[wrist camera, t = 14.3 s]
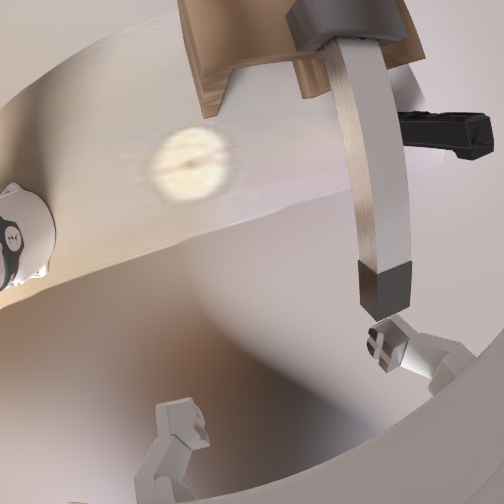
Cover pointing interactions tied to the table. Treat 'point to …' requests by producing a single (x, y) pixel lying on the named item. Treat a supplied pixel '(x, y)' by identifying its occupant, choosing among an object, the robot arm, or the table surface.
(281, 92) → the table surface
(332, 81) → the steel pull bar
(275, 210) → the table surface
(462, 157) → the portable radio
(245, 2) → the walnut shelf stand
